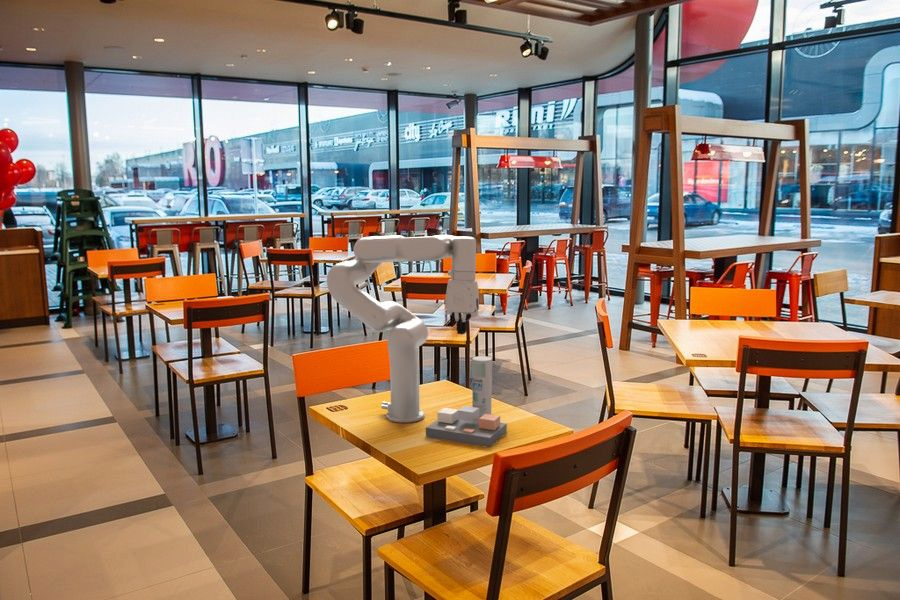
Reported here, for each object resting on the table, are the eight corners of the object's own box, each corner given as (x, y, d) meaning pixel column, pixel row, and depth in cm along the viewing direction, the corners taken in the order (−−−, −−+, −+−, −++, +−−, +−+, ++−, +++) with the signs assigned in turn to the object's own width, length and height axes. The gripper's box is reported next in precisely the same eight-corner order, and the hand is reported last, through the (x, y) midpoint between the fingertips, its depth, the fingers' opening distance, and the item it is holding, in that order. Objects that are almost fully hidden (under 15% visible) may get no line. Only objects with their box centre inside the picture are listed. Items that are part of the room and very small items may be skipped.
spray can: (495, 416, 230) (496, 358, 227) (482, 421, 225) (483, 361, 222) (480, 412, 234) (481, 355, 231) (468, 417, 229) (468, 358, 226)
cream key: (437, 421, 215) (437, 412, 215) (444, 416, 220) (444, 407, 219) (451, 423, 213) (451, 414, 213) (458, 418, 217) (458, 409, 217)
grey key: (457, 419, 212) (457, 410, 211) (464, 415, 216) (464, 405, 216) (472, 421, 210) (472, 412, 209) (479, 417, 214) (479, 407, 214)
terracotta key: (478, 427, 209) (478, 418, 209) (485, 423, 214) (485, 413, 213) (494, 430, 207) (494, 420, 207) (500, 425, 211) (500, 415, 211)
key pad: (425, 437, 211) (425, 425, 210) (445, 423, 223) (445, 412, 223) (489, 447, 202) (489, 435, 201) (506, 432, 214) (506, 421, 214)
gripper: (436, 275, 216) (435, 332, 219) (480, 279, 209) (478, 338, 212) (447, 273, 222) (446, 328, 225) (490, 276, 216) (487, 334, 219)
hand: (461, 333), depth 219 cm, fingers closed
